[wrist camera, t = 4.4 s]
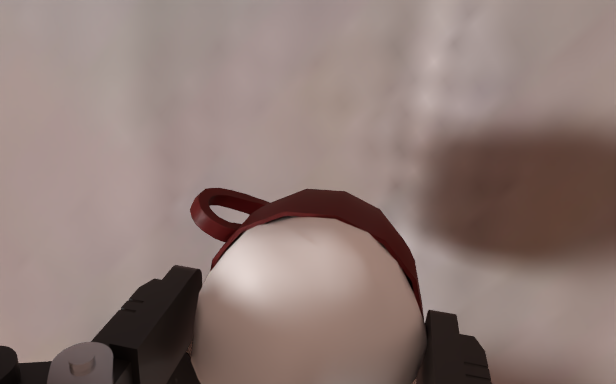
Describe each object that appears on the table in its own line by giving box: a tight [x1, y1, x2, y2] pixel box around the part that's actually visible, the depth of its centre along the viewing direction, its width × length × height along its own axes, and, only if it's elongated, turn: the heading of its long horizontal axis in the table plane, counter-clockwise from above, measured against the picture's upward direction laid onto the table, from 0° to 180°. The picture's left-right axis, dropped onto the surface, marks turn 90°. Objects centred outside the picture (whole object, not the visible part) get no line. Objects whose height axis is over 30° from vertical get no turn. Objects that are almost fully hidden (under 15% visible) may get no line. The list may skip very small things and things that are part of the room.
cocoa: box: [190, 188, 427, 384], centre depth 12 cm, size 10×6×12 cm, turn 29°
